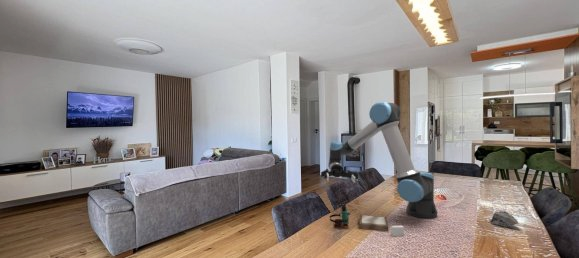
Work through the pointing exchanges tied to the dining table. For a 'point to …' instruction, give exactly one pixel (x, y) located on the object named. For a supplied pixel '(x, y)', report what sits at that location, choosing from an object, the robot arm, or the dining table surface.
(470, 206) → the dining table surface
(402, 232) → the price sign
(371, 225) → the plinth
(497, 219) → the mineral specimen
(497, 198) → the dining table surface
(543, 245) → the dining table surface
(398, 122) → the robot arm
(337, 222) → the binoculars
